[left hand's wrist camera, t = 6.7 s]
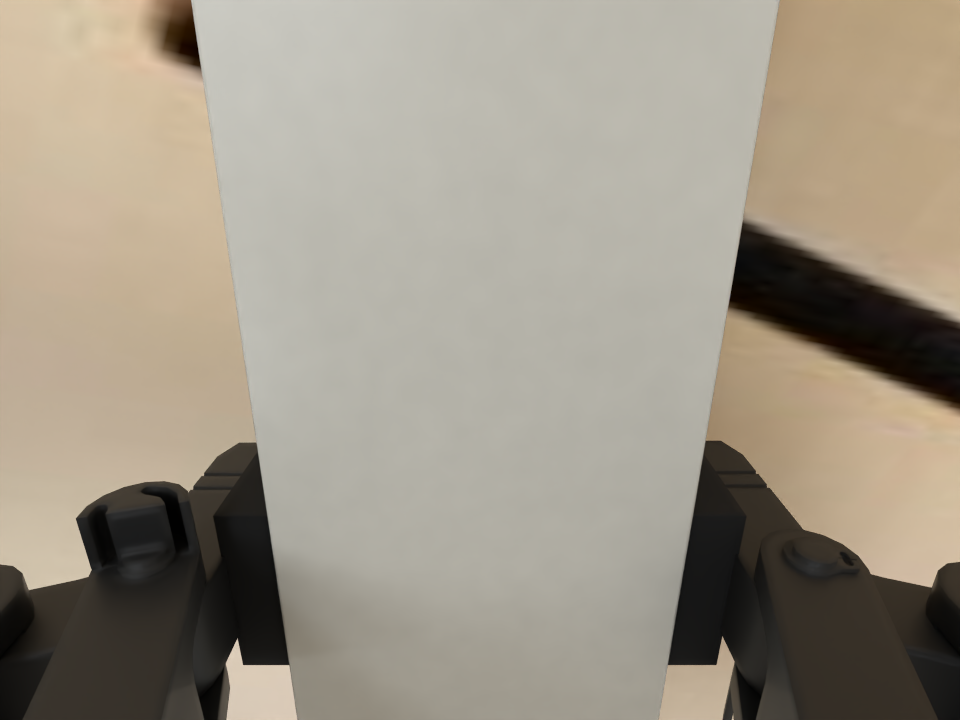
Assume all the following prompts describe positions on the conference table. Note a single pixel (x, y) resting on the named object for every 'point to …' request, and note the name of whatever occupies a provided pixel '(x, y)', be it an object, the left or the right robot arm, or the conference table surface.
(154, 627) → the left robot arm
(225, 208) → the bar
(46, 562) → the conference table surface
